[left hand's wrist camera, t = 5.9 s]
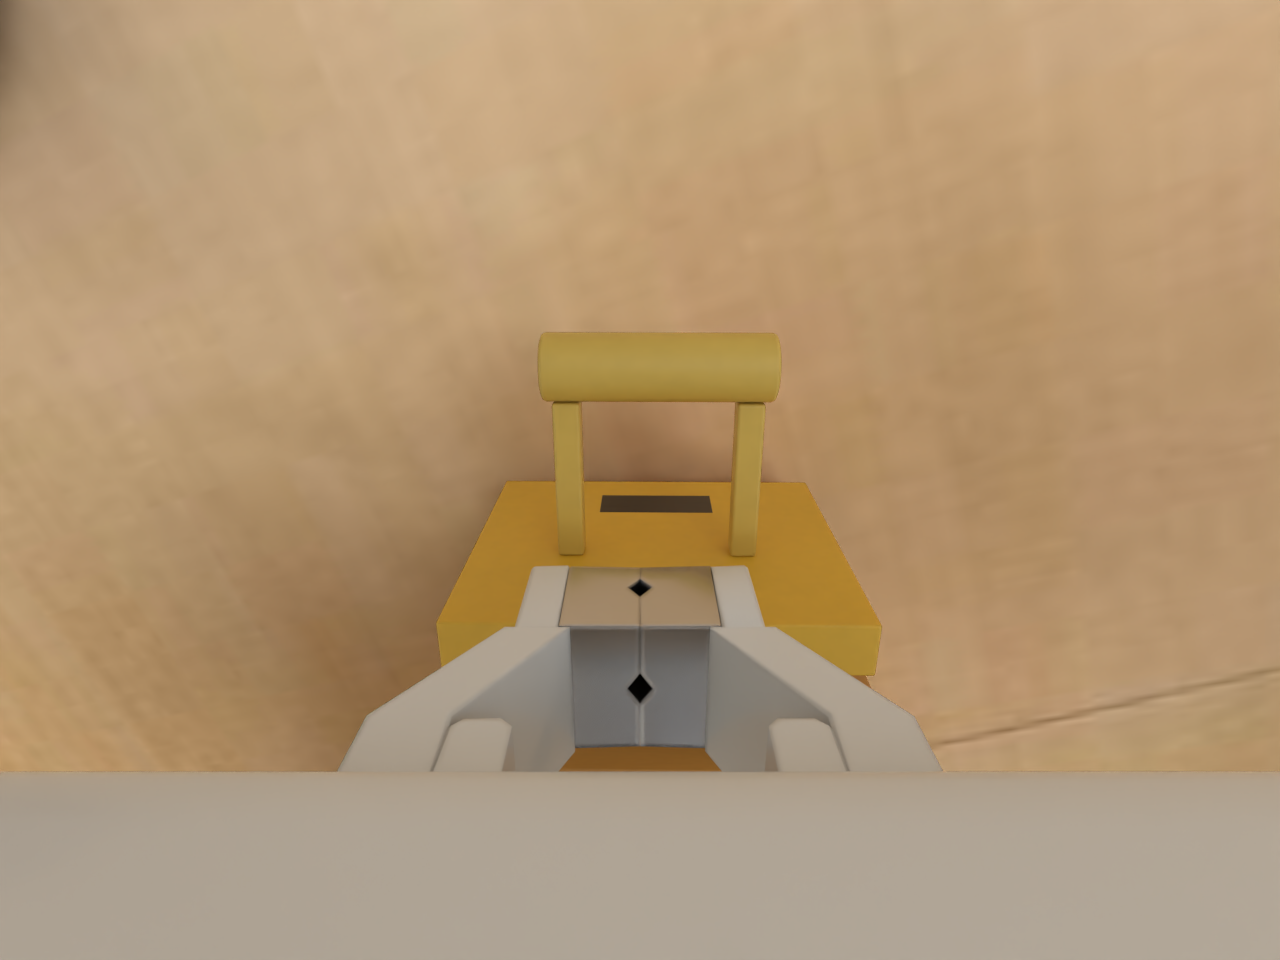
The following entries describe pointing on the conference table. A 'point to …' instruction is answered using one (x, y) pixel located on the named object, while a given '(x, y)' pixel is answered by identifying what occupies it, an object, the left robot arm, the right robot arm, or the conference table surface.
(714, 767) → the cabinet
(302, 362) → the conference table surface
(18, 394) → the conference table surface
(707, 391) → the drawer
